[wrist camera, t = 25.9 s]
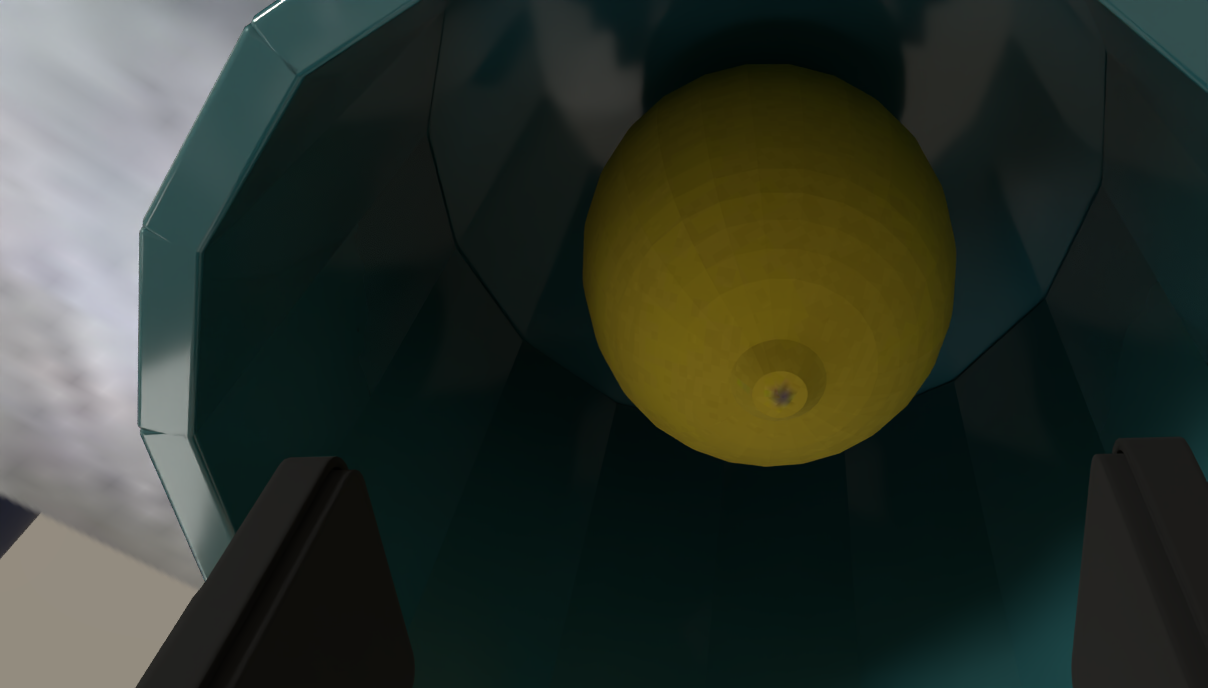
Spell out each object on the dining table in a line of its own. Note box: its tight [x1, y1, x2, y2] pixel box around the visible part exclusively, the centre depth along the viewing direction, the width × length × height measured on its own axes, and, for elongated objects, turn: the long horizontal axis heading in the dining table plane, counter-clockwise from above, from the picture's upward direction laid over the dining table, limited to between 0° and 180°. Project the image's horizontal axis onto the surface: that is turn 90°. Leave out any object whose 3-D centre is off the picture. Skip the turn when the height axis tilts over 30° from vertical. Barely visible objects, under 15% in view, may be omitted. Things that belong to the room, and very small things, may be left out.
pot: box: [138, 0, 1208, 688], centre depth 17 cm, size 13×19×10 cm
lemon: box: [583, 64, 956, 467], centre depth 18 cm, size 6×6×8 cm
